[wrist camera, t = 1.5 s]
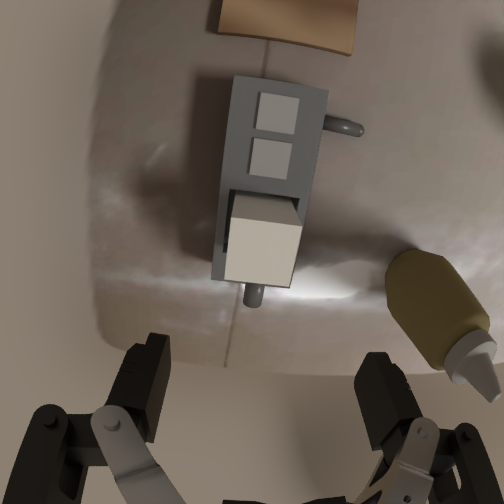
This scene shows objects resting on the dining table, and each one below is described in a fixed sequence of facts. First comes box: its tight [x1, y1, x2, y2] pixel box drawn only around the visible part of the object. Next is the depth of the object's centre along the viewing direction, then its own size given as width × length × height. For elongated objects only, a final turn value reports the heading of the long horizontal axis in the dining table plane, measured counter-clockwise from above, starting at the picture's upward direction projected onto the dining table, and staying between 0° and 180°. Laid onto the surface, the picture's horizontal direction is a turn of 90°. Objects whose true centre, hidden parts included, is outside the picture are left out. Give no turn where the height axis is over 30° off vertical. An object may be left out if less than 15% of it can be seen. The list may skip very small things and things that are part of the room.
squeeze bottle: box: [385, 249, 502, 403], centre depth 22 cm, size 8×8×18 cm
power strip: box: [211, 75, 364, 289], centre depth 24 cm, size 17×11×4 cm, turn 172°
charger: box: [224, 190, 302, 308], centre depth 23 cm, size 7×4×7 cm, turn 172°
